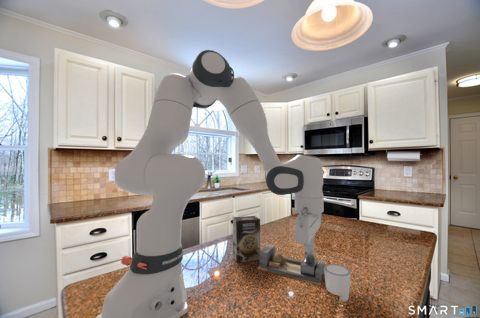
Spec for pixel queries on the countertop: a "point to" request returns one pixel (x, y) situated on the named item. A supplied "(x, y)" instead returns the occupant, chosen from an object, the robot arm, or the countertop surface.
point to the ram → (309, 262)
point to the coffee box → (246, 238)
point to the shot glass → (337, 280)
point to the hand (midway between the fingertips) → (309, 248)
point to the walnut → (278, 258)
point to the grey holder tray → (288, 266)
